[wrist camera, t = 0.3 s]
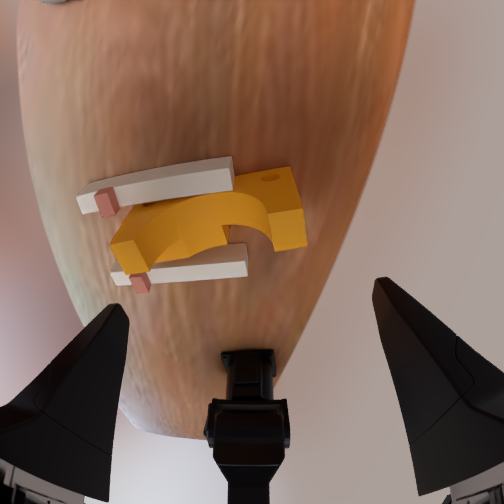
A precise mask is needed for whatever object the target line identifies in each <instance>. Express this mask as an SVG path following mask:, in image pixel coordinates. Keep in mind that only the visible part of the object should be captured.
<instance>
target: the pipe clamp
mask: <svg viewBox="0 0 504 504" xmlns="http://www.w3.org/2000/svg"><path fill="white" fill-rule="evenodd" d="M229 225H244V226H249V227H252V228H255V229H257V230H260V231H261V232H263V233H264V234H266V235H267V236H268V237H269V239H270V240H271V241H272V243H273V246H274V250H275V252H276V251H282V250H289V249H295V248H301V247H307V237H306V229H305V220H304V213H303V207H302V203H301V200H300V197H299V193H298V190H297V187H296V183H295V180H294V177H293V174H292V171H291V167H290V166H288V167H282V168H276V169H270V170H265V171H259V172H254V173H248V174H243V175H238V176H235V179H234V186H233V190H231V191H223V192H215V193H207V194H200V195H192V196H185V197H178V198H171V199H165V200H159V201H152V202H146V203H140V204H135V205H134V206H133V208H132V209H131V211H130V212H129V214H128V215H127V217H126V218H125V220H124V222H123V223H122V225H121V226H120V228H119V229H118V231H117V233H116V234H115V236H114V237H113V239H112V241H111V242H110V244H109V246H110V248H111V250H112V252H113V254H114V255H115V257H116V259H117V261H118V263H119V264H120V266H121V268H122V270H123V271H124V273H125V275H131V274H137V273H144V272H150V270H151V268H152V266H153V264H154V263H159V262H165V261H171V260H177V259H183V258H189V257H191V256H193V255H195V254H197V253H199V252H201V251H203V250H206V249H209V248H213V247H217V246H222V245H228V237H229V229H230V228H229Z"/></svg>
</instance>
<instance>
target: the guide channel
mask: <svg viewBox="0 0 504 504" xmlns="http://www.w3.org/2000/svg"><path fill="white" fill-rule="evenodd" d="M234 179H235V174H234V168H233V161H232V156H228V157H220V158H213V159H206V160H199V161H193V162H187V163H181V164H175V165H169V166H164V167H159V168H153V169H148V170H143V171H139V172H134V173H129V174H125V175H120V176H116V177H111V178H107V179H103V180H99V181H95V182H91V183H89V184H88V185H86V186H85V187H84V188H83V189H82V190H81V191H80V192H79V193H78V194H77V195H76V199H77V202H78V204H79V207H80V209H81V212H82V214H87V213H91V212H96V211H99V212H100V214H101V217H102V218H103V217H108V216H114V215H116V214H117V212H118V211H119V209H120V207H123V206H129V205H134V204H140V203H146V202H152V201H159V200H165V199H171V198H178V197H185V196H192V195H200V194H207V193H215V192H223V191H231V190H233V186H234ZM110 274H111V276H112V278H113V280H114V282H115V284H116V286H121V285H132V286H133V288H134V290H135V292H136V293H149V290H150V287H151V284H153V283H168V282H182V281H196V280H209V279H222V278H234V277H246V276H248V254H247V248H246V243H237V244H228V245H222V246H217V247H213V248H209V249H206V250H203V251H201V252H199V253H197V254H195V255H193V256H191V257H189V258H183V259H177V260H171V261H165V262H159V263H154V264H153V266H152V268H151V270H150V272H144V273H137V274H131V275H125V273H124V271H123V270H122V268H121V266H120V264H119V263H118V261H117V259H116V261H115V263H114V265H113V267H112V269H111V271H110Z"/></svg>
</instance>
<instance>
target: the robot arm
mask: <svg viewBox="0 0 504 504" xmlns="http://www.w3.org/2000/svg"><path fill="white" fill-rule="evenodd" d="M372 302H373V307H374V311H375V315H376V320H377V324H378V330H379V334H380V339H381V343H382V346H383V349H384V352H385V355H386V359H387V362H388V365H389V369H390V372H391V376H392V379H393V382H394V386H395V389H396V393H397V397H398V400H399V404H400V408H401V412H402V416H403V420H404V424H405V428H406V433H407V437H408V442H409V445H410V452H411V457H412V461H413V467H414V472H415V478H416V484H417V490H418V494H419V496H422V495H425V494H429V493H432V492H434V491H438V490H440V489H443V488H446V487H449V486H450V492H451V494H449V495H447V497H446V498H445V500H444V502H443V503H442V504H504V373H503V372H502V371H501V370H499V369H498V368H497V367H496V366H494V365H493V364H492V363H490V362H489V361H488V360H486V359H485V358H484V357H483V356H481V355H480V354H479V353H478V352H476V351H475V350H474V349H473V348H472V347H470V346H469V345H468V344H467V343H466V342H464V341H463V340H462V339H461V338H460V337H459V336H456V334H455V333H454V332H453V331H452V330H451V329H450V328H448V327H447V326H446V325H445V324H444V323H443V322H442V321H440V320H439V319H438V318H437V317H436V316H435V315H433V314H432V313H431V312H430V311H429V310H428V309H426V308H425V307H424V306H423V305H422V304H420V303H419V302H418V301H417V300H416V299H414V298H413V297H412V296H411V295H409V294H408V293H407V292H406V291H405V290H403V289H402V288H401V287H399V286H398V285H397V284H396V283H394V282H393V281H392V280H391V279H390V278H388V277H381V278H377V279H376V280H375V283H374V288H373V294H372ZM129 324H130V323H129V318H128V316H127V315H126V313H125V311H124V310H123V308H122V306H121V305H120V304H118V303H114V304H109V305H108V306H107V307H105V308H104V309H103V310H102V311H101V312H100V313H99V314H98V315H97V316H96V317H95V318H94V319H93V320H92V321H91V322H90V323H89V324H88V325H87V326H86V327H85V328H84V329H83V330H82V331H81V332H80V333H79V334H78V335H77V336H76V337H75V338H74V339H73V340H72V341H71V342H70V343H69V344H68V345H67V346H66V347H65V348H64V349H63V350H62V351H61V352H60V353H59V354H58V355H57V356H56V357H55V358H54V359H53V360H52V361H51V363H50V364H48V365H47V367H46V368H45V369H44V370H43V371H42V372H41V373H40V374H39V375H38V376H37V377H36V378H35V379H34V380H33V381H32V382H31V383H30V384H29V385H28V386H27V387H25V388H24V389H23V390H22V391H21V392H20V393H19V394H18V395H17V396H16V397H15V398H14V399H13V400H12V401H10V402H9V403H8V404H6V405H4V406H2V407H0V504H85V503H84V497H85V496H87V497H90V498H94V499H97V500H101V501H104V502H109V488H110V473H111V461H112V448H113V440H114V431H115V423H116V415H117V409H118V402H119V396H120V390H121V384H122V378H123V372H124V367H125V361H126V354H127V343H128V333H129ZM221 359H222V362H223V364H224V367H225V369H226V372H227V387H226V400H223V399H216V398H213V399H212V403H210V404H209V406H208V416H207V420H206V424H205V427H204V431H203V434H204V436H205V437H206V438H207V441H208V444H209V447H210V448H213V458H214V460H215V462H216V463H217V465H218V467H219V468H220V470H221V472H222V473H223V475H224V476H225V478H226V480H227V481H228V504H270V502H269V482H270V481H271V479H272V478H273V476H274V475H275V473H276V471H277V470H278V468H279V466H280V465H281V463H282V462H283V460H284V458H285V448H289V446H290V423H289V415H288V408H287V400H286V399H282V400H274V399H273V377H276V366H275V357H274V351H273V350H260V351H244V352H224V353H221Z"/></svg>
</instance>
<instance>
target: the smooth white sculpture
mask: <svg viewBox="0 0 504 504" xmlns="http://www.w3.org/2000/svg"><path fill="white" fill-rule="evenodd" d="M39 1H41V2H43V3H47V4H57V3H61V2H64V1H66V0H39Z"/></svg>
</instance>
